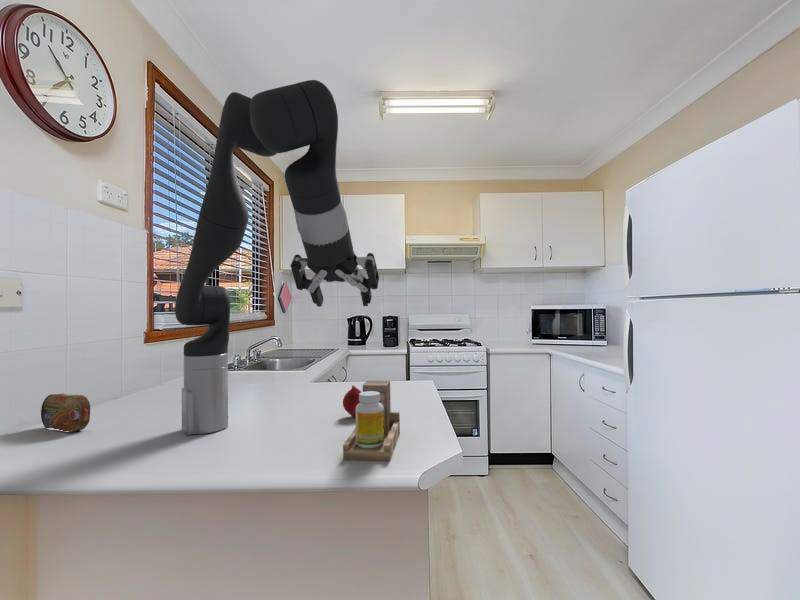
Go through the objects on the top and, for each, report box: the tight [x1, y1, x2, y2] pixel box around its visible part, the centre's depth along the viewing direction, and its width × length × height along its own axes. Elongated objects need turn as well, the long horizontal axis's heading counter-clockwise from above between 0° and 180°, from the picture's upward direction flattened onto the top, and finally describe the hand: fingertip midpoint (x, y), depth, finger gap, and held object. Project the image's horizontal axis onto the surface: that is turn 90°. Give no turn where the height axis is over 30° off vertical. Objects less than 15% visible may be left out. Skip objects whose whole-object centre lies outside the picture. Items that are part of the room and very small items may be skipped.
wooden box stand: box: [342, 380, 401, 462], centre depth 78 cm, size 16×8×12 cm, turn 174°
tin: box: [40, 393, 91, 433], centre depth 92 cm, size 15×3×8 cm, turn 68°
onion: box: [342, 384, 362, 418], centre depth 98 cm, size 6×6×8 cm
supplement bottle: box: [354, 391, 384, 449], centre depth 74 cm, size 5×5×10 cm
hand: (343, 303), depth 71 cm, fingers open, 8 cm apart
